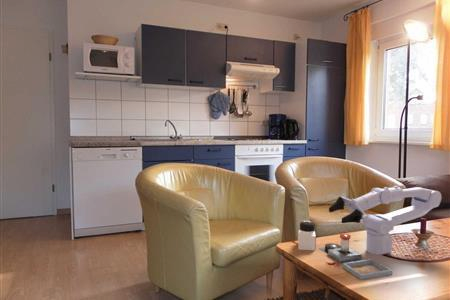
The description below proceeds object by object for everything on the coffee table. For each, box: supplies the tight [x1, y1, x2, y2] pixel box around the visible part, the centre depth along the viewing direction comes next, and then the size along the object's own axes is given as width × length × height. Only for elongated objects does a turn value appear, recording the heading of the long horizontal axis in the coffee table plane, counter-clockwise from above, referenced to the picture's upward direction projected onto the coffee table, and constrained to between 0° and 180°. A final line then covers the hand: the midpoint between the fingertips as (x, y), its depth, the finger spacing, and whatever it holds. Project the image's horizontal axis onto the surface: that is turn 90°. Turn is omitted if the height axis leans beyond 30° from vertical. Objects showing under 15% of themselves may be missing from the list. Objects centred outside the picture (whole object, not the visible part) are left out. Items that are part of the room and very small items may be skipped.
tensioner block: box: [318, 242, 363, 264], centre depth 138 cm, size 10×16×3 cm, turn 17°
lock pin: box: [339, 232, 351, 255], centre depth 134 cm, size 4×4×9 cm
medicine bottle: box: [297, 220, 317, 251], centre depth 145 cm, size 7×7×12 cm
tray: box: [342, 258, 393, 280], centre depth 122 cm, size 13×10×2 cm
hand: (335, 215), depth 133 cm, fingers open, 7 cm apart
